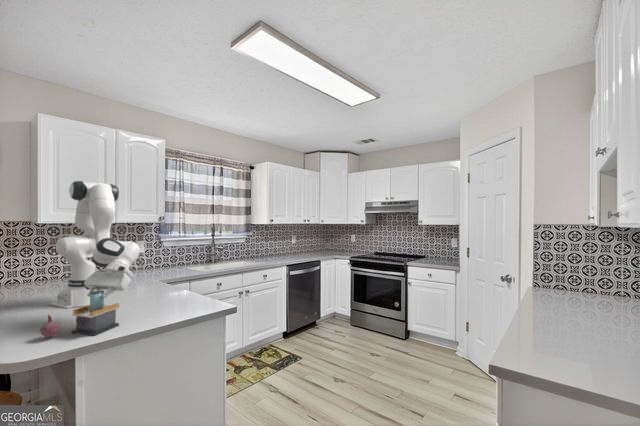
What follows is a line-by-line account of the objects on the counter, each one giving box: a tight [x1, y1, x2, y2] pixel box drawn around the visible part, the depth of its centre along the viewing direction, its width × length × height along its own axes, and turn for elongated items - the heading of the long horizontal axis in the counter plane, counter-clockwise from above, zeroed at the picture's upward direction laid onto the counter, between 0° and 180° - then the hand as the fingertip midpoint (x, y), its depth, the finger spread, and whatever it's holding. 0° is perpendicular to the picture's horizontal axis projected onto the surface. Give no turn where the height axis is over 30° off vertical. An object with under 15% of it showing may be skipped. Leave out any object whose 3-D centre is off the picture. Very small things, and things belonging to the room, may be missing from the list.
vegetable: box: [39, 314, 60, 339], centre depth 123 cm, size 6×6×10 cm
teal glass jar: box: [90, 289, 105, 311], centre depth 134 cm, size 5×5×8 cm
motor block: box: [71, 302, 120, 337], centre depth 134 cm, size 14×14×10 cm
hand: (96, 296), depth 133 cm, fingers open, 6 cm apart
